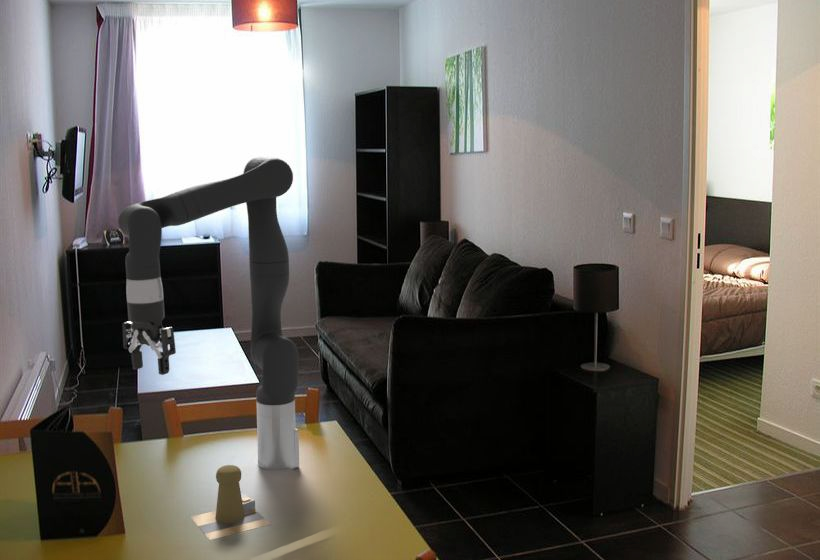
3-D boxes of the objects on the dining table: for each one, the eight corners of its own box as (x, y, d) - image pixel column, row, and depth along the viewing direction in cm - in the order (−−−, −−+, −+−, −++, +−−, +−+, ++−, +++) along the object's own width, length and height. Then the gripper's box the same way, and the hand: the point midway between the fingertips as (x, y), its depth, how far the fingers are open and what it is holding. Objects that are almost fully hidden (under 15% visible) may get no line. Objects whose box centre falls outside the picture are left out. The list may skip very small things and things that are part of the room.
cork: (249, 512, 176) (248, 463, 175) (235, 525, 171) (234, 474, 169) (224, 509, 178) (223, 460, 176) (209, 521, 173) (207, 470, 171)
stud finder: (242, 501, 182) (242, 491, 182) (255, 509, 178) (255, 498, 178) (230, 505, 180) (230, 495, 180) (243, 513, 176) (242, 503, 176)
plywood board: (249, 508, 182) (248, 502, 181) (270, 529, 172) (270, 524, 171) (190, 522, 175) (190, 516, 174) (209, 545, 165) (209, 539, 165)
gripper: (181, 298, 178) (186, 371, 181) (137, 292, 186) (143, 362, 189) (153, 304, 172) (158, 380, 175) (109, 298, 180) (115, 370, 183)
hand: (150, 371), depth 182 cm, fingers open, 8 cm apart
